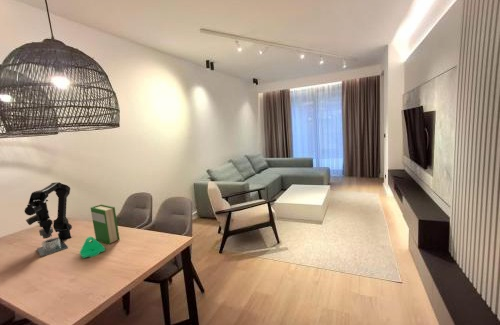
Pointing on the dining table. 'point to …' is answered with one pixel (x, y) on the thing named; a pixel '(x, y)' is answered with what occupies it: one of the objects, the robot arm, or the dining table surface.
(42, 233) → the dark grey rounded lump
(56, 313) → the dining table surface
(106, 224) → the hardback book
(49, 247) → the square base plate
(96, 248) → the camera mount
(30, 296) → the dining table surface
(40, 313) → the dining table surface
